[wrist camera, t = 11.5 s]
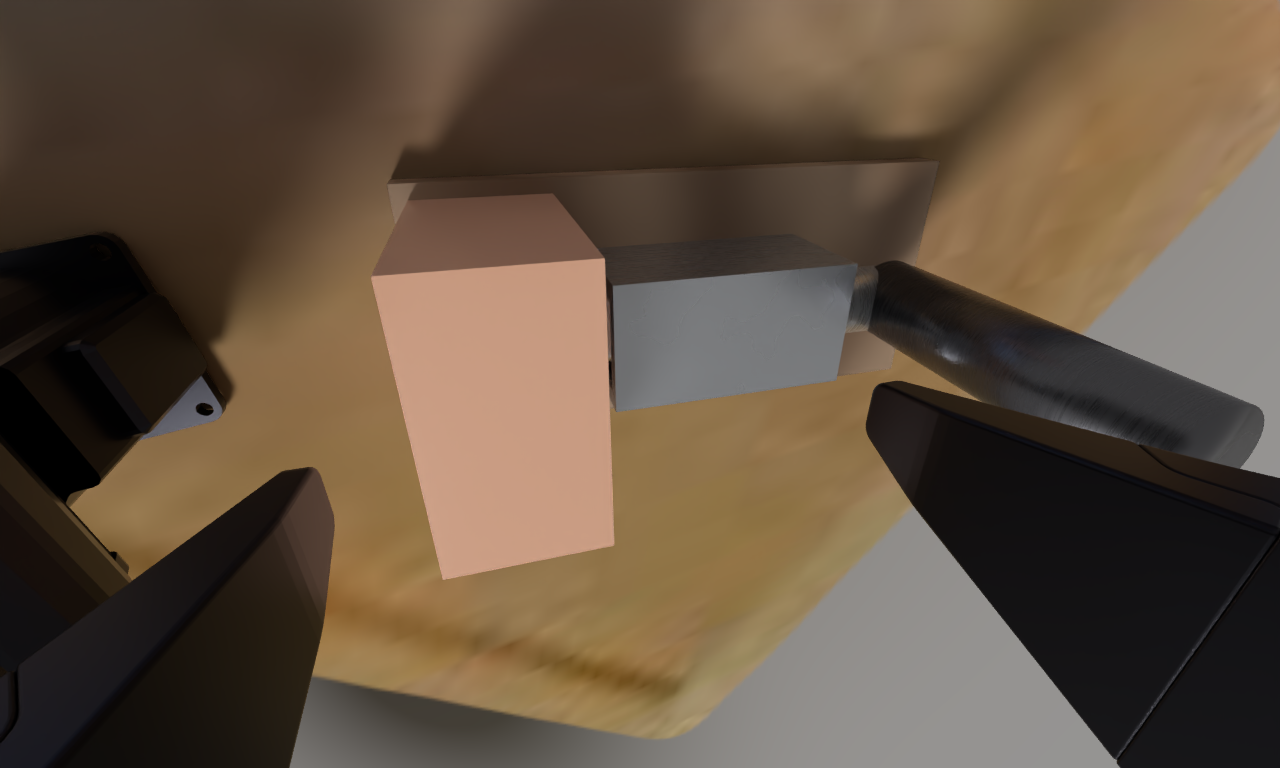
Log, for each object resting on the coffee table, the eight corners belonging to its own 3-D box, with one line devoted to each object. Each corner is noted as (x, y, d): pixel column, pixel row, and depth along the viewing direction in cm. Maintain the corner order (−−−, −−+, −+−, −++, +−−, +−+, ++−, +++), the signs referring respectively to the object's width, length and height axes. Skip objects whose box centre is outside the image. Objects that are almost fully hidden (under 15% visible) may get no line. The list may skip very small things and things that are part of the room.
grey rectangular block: (590, 357, 21) (616, 412, 18) (585, 248, 19) (612, 285, 16) (779, 334, 23) (836, 380, 20) (792, 233, 21) (857, 264, 18)
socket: (450, 420, 21) (443, 579, 14) (407, 200, 17) (370, 276, 11) (568, 403, 22) (614, 545, 15) (552, 193, 18) (604, 258, 12)
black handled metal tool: (482, 362, 20) (503, 677, 9) (471, 285, 18) (480, 551, 8) (887, 315, 23) (1222, 500, 13) (902, 249, 22) (1287, 395, 12)
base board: (439, 419, 22) (438, 432, 21) (390, 179, 18) (386, 184, 17) (877, 359, 27) (890, 368, 26) (921, 157, 22) (939, 160, 22)
